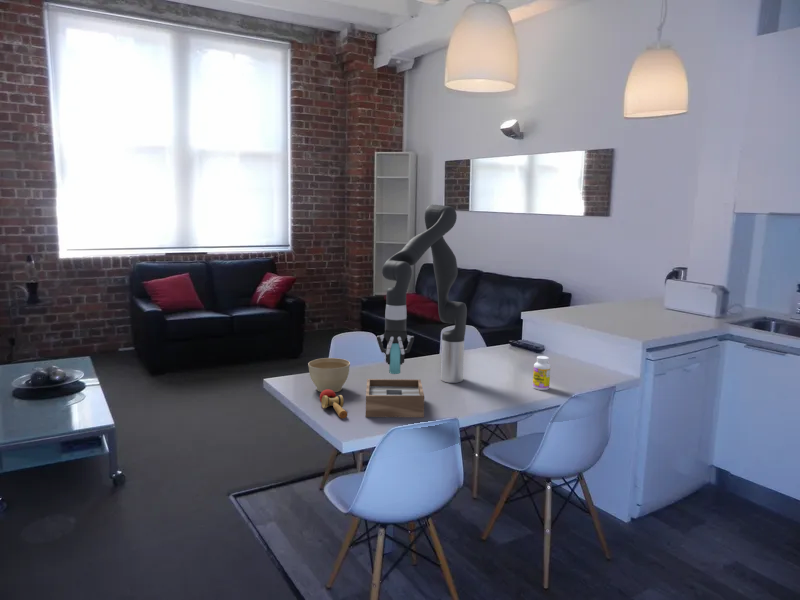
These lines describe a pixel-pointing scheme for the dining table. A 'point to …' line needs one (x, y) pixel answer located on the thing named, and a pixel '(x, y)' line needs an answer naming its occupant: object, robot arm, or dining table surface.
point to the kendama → (333, 402)
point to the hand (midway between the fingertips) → (394, 363)
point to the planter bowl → (329, 373)
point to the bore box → (394, 398)
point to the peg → (395, 359)
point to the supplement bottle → (541, 373)
